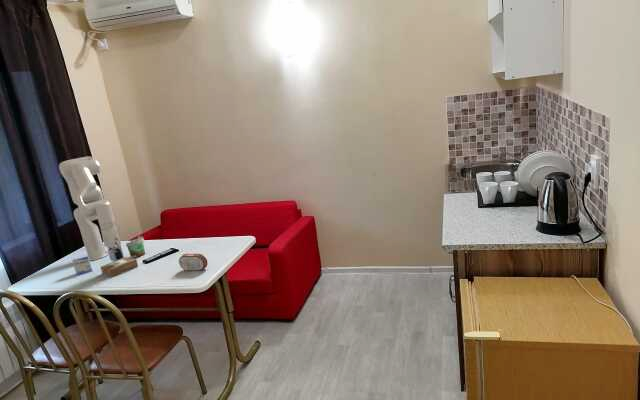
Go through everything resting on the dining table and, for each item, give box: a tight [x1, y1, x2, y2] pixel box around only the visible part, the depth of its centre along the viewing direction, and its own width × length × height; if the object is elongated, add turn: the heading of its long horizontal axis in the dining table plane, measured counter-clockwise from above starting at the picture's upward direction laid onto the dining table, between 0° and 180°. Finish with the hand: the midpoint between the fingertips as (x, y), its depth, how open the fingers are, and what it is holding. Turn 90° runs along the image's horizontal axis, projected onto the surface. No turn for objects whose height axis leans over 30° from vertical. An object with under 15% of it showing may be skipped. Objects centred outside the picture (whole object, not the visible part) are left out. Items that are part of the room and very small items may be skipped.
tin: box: [178, 253, 209, 272], centre depth 226 cm, size 15×3×8 cm, turn 71°
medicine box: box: [72, 254, 93, 276], centre depth 250 cm, size 8×4×9 cm, turn 118°
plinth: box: [100, 256, 139, 278], centre depth 244 cm, size 12×14×4 cm
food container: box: [125, 235, 146, 259], centre depth 264 cm, size 12×6×10 cm, turn 168°
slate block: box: [107, 247, 124, 262], centre depth 242 cm, size 5×5×6 cm
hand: (117, 257), depth 243 cm, fingers closed on slate block, 5 cm apart
